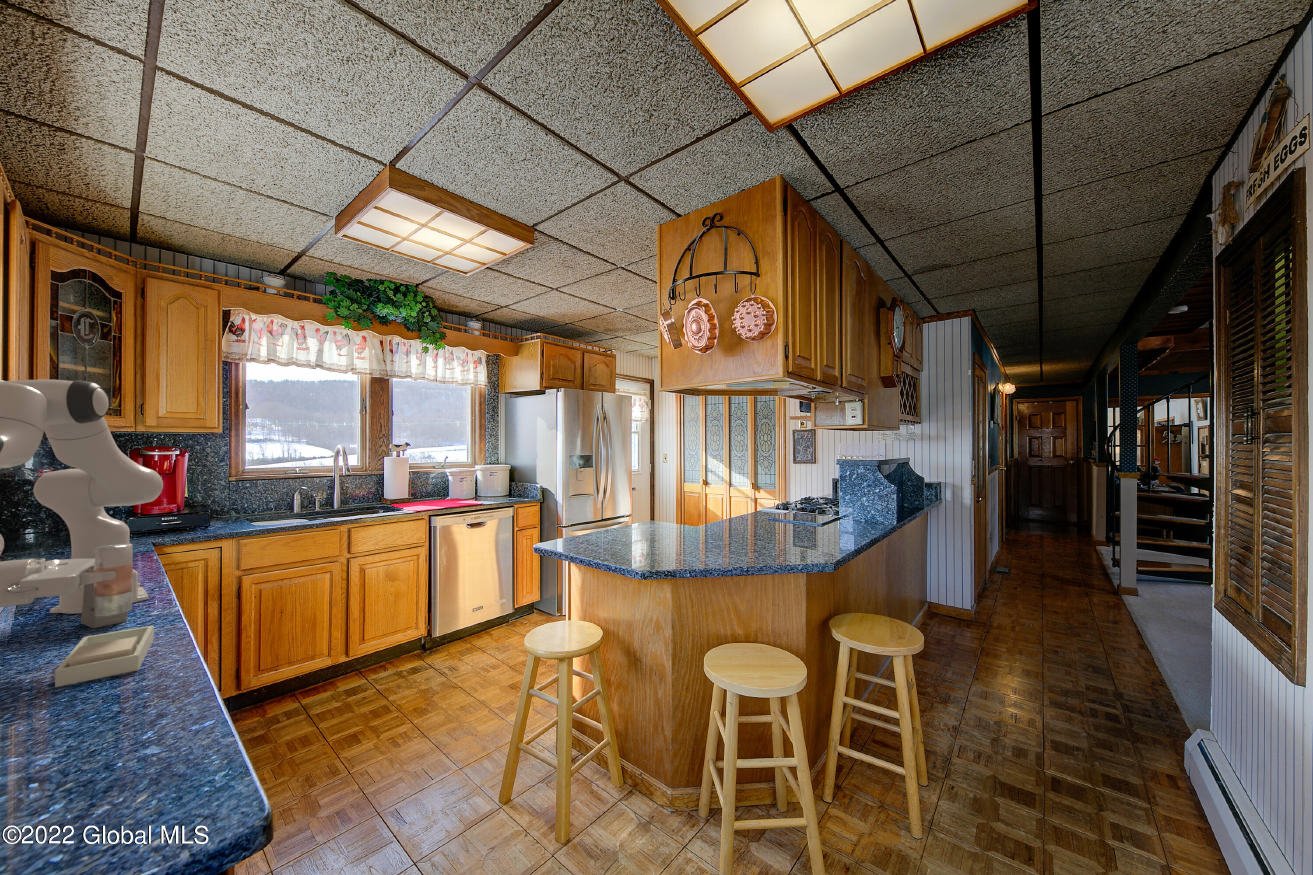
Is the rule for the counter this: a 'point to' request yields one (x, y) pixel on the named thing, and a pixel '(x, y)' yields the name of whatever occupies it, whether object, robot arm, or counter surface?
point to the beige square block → (103, 651)
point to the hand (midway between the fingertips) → (120, 570)
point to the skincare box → (88, 611)
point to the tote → (106, 667)
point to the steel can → (117, 591)
